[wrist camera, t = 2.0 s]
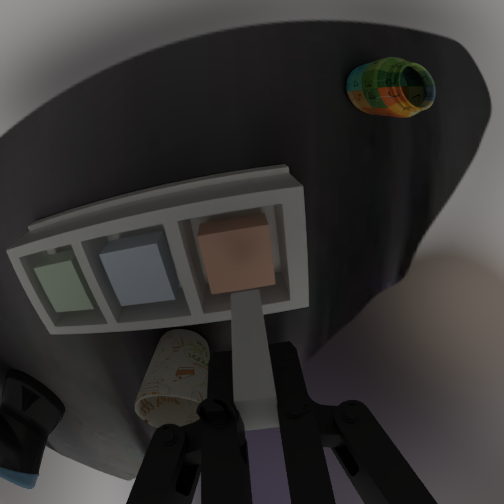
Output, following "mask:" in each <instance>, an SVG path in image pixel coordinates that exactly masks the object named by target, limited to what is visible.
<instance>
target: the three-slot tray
mask: <svg viewBox="0 0 504 504" xmlns="http://www.w3.org/2000/svg"><path fill="white" fill-rule="evenodd" d="M261 213H265V216H266V218H267V221H268V224H269V230H270V239H271V247H272V256H273V265H274V274H275V283H276V284H275V285H269V286H263V287H257V288H251V289H244V290H238V291H232V292H225V293H218V294H212V293H211V290H210V286H209V282H208V278H207V274H206V271H205V267H204V263H203V259H202V255H201V251H200V247H199V243H198V239H197V234H198V230H199V226H200V223H206V222H212V221H218V220H223V219H229V218H236V217H242V216H248V215H254V214H261ZM28 229H29V232H28V233H27V234H25V235H24V236H23V237H22V238H20V239H19V240H18V241H17V242H16V243H14V244H13V245H12V246H11V247H10V248H8V249H7V250H6V251H7V254H8V256H9V258H10V261H11V263H12V265H13V267H14V269H15V272H16V274H17V276H18V278H19V280H20V282H21V284H22V286H23V288H24V290H25V292H26V294H27V295H28V297H29V299H30V301H31V303H32V305H33V306H34V308H35V310H36V312H37V313H38V315H39V317H40V318H41V320H42V322H43V323H44V325H45V326H46V328H47V330H48V331H49V333H50V334H83V333H104V332H120V331H133V330H146V329H157V328H167V327H176V326H185V325H194V324H202V323H210V322H217V321H225V320H231V293H237V292H244V291H250V290H257V289H259V292H260V298H261V305H262V311H263V315H264V314H270V313H276V312H282V311H287V310H293V309H298V308H304V307H309V288H308V258H307V236H306V219H305V204H304V190H303V185H301V184H300V183H299V182H298V181H297V180H296V179H295V178H294V177H293V176H292V175H291V174H290V173H289V167H288V166H287V165H285V164H281V165H273V166H266V167H258V168H252V169H245V170H238V171H232V172H226V173H220V174H215V175H209V176H204V177H198V178H193V179H188V180H183V181H178V182H174V183H169V184H164V185H160V186H155V187H151V188H147V189H143V190H139V191H134V192H130V193H127V194H123V195H119V196H115V197H111V198H108V199H104V200H101V201H97V202H94V203H90V204H87V205H83V206H80V207H77V208H74V209H70V210H67V211H64V212H61V213H58V214H55V215H52V216H49V217H46V218H43V219H40V220H38V221H35V222H34V223H32V224H31V225H30V226H28ZM162 230H163V231H164V234H165V238H166V241H167V245H168V248H169V251H170V255H171V258H172V261H173V264H174V268H175V271H176V274H177V277H178V280H179V286H178V290H177V295H176V299H175V300H168V301H160V302H152V303H144V304H135V305H126V306H121V304H120V302H119V300H118V298H117V296H116V293H115V291H114V289H113V287H112V284H111V282H110V280H109V278H108V275H107V273H106V270H105V268H104V266H103V263H102V261H101V258H100V256H99V254H100V253H101V251H102V250H103V249H104V248H105V246H106V245H107V244H108V243H109V241H113V240H117V239H122V238H127V237H132V236H137V235H142V234H147V233H152V232H157V231H162ZM72 249H73V250H74V253H75V255H76V258H77V260H78V263H79V265H80V267H81V270H82V272H83V274H84V276H85V279H86V281H87V283H88V285H89V287H90V289H91V291H92V293H93V296H94V298H95V300H96V302H97V304H96V306H95V308H94V309H88V310H78V311H66V312H56V311H55V309H54V307H53V306H52V304H51V302H50V300H49V298H48V296H47V295H46V293H45V291H44V289H43V287H42V285H41V283H40V281H39V279H38V277H37V275H36V272H35V270H34V267H35V266H36V265H37V264H38V263H39V262H40V261H41V260H42V259H43V258H44V257H45V256H47V255H51V254H55V253H59V252H63V251H68V250H72Z"/></svg>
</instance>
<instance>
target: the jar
mask: <svg viewBox="0 0 504 504" xmlns="http://www.w3.org/2000/svg"><path fill="white" fill-rule="evenodd" d="M346 89H347V94H348V96H349V98H350V100H351V102H352V103H353V104H354V105H355V106H356V107H357V108H358V109H360V110H361V111H363V112H365V113H369V114H375V115H385V116H393V117H402V118H405V117H411V116H413V115H415V114H417V113H418V112H420V111H422V110H425V109H428V108H429V107H430V106H431V105H432V104H433V102H434V99H435V95H436V89H435V84H434V81H433V79H432V77H431V75H430V74H429V72H428V71H427V70H426V69H425V68H424V67H423V66H421V65H419V64H417V63H412V62H409V61H406V60H403V59H401V58H397V57H389V58H384V59H381V60H377V61H374V62H371V63H368V64H365V65H362V66H359V67H357V68H355V69H354V70H353V71H352V72H351V73H350V74H349V76H348V79H347V83H346Z"/></svg>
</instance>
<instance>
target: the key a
mask: <svg viewBox="0 0 504 504" xmlns="http://www.w3.org/2000/svg"><path fill="white" fill-rule="evenodd" d="M34 270H35V272H36V275H37V277H38V279H39V281H40V283H41V285H42V287H43V289H44V291H45V293H46V295H47V296H48V298H49V300H50V302H51V304H52V306H53V307H54V309H55V311H56V312H66V311H78V310H88V309H94V308H95V306H96V304H97V302H96V300H95V298H94V296H93V293H92V291H91V289H90V287H89V285H88V283H87V281H86V279H85V276H84V274H83V272H82V270H81V267H80V265H79V263H78V260H77V258H76V255H75V253H74V250H73V249H72V250H68V251H63V252H59V253H55V254H51V255H47V256H45V257H44V258H43V259H42V260H41V261H40V262H39V263H38V264H37V265H36V266H35V267H34Z"/></svg>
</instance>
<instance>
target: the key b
mask: <svg viewBox="0 0 504 504" xmlns="http://www.w3.org/2000/svg"><path fill="white" fill-rule="evenodd" d="M99 256H100V258H101V261H102V263H103V266H104V268H105V270H106V273H107V275H108V278H109V280H110V282H111V284H112V287H113V289H114V291H115V293H116V296H117V298H118V300H119V302H120V304H121V306H126V305H135V304H144V303H152V302H160V301H168V300H175V299H176V295H177V290H178V286H179V280H178V277H177V274H176V271H175V268H174V264H173V261H172V258H171V255H170V251H169V248H168V245H167V241H166V238H165V234H164V231H163V230H162V231H157V232H152V233H147V234H142V235H137V236H132V237H127V238H122V239H117V240H113V241H109V243H108V244H107V245H106V246H105V248H104V249H103V250H102V251H101V253H100V254H99Z"/></svg>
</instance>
